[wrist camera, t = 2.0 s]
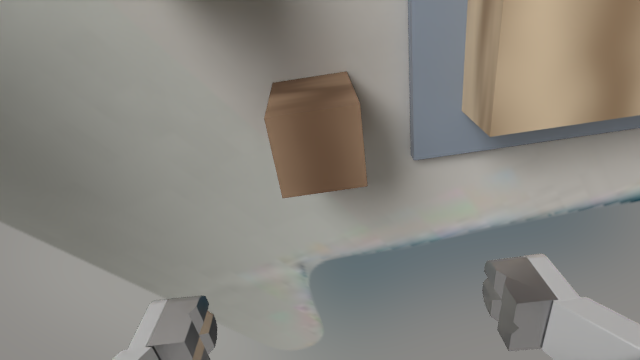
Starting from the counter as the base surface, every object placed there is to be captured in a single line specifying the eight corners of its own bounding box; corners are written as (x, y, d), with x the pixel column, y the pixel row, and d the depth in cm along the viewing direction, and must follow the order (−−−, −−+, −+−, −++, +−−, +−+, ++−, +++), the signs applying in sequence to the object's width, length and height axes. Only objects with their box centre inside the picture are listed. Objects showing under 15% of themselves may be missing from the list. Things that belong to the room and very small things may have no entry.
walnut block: (286, 149, 25) (282, 198, 20) (272, 82, 22) (264, 118, 17) (353, 139, 25) (367, 186, 19) (346, 71, 22) (360, 103, 17)
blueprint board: (410, 155, 25) (413, 160, 25) (405, -151, 17) (409, -156, 17) (650, 120, 25) (660, 124, 24) (760, -213, 17) (780, -221, 16)
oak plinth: (457, 106, 24) (489, 136, 20) (466, -84, 19) (513, -97, 14) (616, 82, 23) (684, 108, 19) (669, -118, 18) (778, -141, 14)
